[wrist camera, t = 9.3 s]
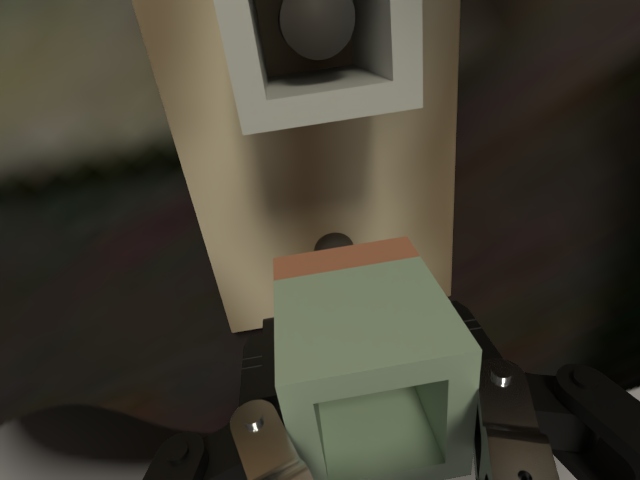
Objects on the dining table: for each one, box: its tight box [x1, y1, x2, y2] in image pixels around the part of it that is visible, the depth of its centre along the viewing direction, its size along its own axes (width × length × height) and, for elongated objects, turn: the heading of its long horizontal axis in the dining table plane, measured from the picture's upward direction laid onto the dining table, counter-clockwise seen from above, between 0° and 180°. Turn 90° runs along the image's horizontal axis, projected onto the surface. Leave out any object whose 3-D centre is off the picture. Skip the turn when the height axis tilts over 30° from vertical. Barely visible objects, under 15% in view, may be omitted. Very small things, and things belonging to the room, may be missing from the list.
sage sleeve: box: [273, 236, 482, 480], centre depth 13 cm, size 5×5×6 cm
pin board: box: [132, 0, 460, 333], centre depth 16 cm, size 12×18×6 cm, turn 7°
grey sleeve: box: [213, 0, 423, 135], centre depth 12 cm, size 5×5×6 cm
